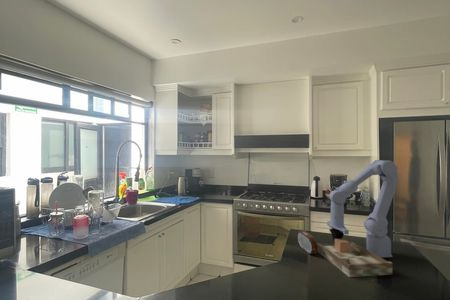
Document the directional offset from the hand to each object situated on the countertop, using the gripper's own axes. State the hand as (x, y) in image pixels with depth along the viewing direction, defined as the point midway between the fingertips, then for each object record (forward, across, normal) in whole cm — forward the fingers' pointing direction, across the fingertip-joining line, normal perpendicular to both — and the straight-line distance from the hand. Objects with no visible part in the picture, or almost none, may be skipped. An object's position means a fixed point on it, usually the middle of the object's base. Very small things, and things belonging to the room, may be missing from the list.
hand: (337, 244), depth 115 cm
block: (+1, +4, 0) cm, 4 cm away
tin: (+4, -4, -14) cm, 15 cm away
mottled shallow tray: (+3, +10, 0) cm, 11 cm away
